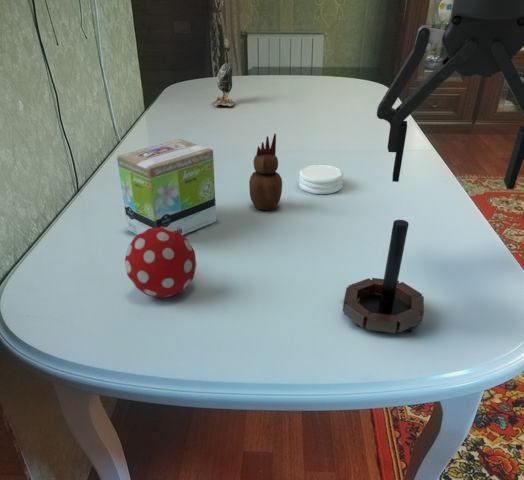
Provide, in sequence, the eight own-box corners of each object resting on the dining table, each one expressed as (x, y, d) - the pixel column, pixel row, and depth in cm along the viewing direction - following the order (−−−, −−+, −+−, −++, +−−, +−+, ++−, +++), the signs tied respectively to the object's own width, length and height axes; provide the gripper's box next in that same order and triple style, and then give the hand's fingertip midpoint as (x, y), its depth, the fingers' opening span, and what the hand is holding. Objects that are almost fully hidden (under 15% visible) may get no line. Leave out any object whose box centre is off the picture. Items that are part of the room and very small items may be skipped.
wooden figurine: (283, 203, 110) (285, 131, 100) (278, 214, 105) (279, 139, 96) (253, 200, 111) (252, 128, 101) (247, 211, 107) (245, 137, 97)
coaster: (345, 194, 113) (347, 178, 111) (301, 195, 113) (302, 180, 111) (337, 178, 121) (339, 163, 119) (296, 179, 121) (297, 164, 118)
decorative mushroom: (138, 210, 86) (144, 215, 73) (197, 240, 90) (213, 249, 77) (112, 270, 88) (113, 285, 74) (171, 295, 92) (182, 314, 78)
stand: (411, 302, 80) (430, 212, 70) (411, 332, 74) (433, 238, 64) (359, 297, 81) (372, 208, 72) (356, 326, 75) (369, 233, 66)
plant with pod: (240, 101, 179) (238, 35, 166) (231, 109, 171) (228, 40, 158) (218, 99, 181) (214, 34, 168) (208, 107, 172) (203, 39, 159)
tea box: (159, 248, 94) (148, 168, 85) (127, 231, 99) (113, 155, 90) (218, 222, 103) (214, 147, 93) (186, 208, 108) (178, 136, 99)
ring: (421, 293, 80) (423, 283, 79) (422, 336, 71) (424, 326, 70) (347, 284, 82) (348, 274, 81) (339, 325, 73) (340, 315, 72)
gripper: (625, -34, 51) (551, 177, 64) (372, -32, 55) (352, 164, 68) (653, -29, 45) (565, 200, 58) (369, -28, 49) (348, 185, 63)
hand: (450, 181), depth 63 cm, fingers open, 13 cm apart
